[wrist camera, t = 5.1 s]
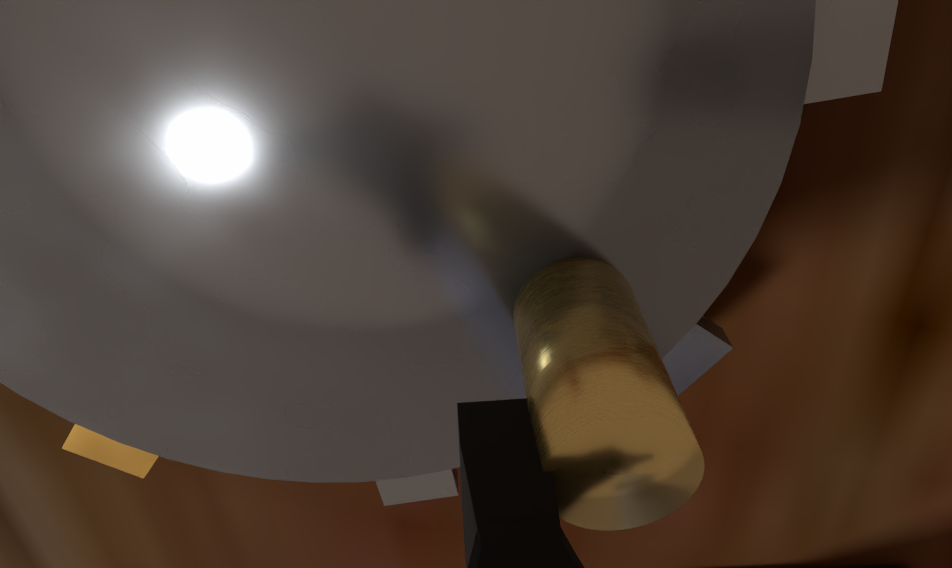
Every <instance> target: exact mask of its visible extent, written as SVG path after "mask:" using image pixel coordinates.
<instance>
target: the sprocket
mask: <svg viewBox="0 0 952 568" xmlns="http://www.w3.org/2000/svg"><path fill="white" fill-rule="evenodd" d="M897 5H898V0H0V383H2V384H3V385H5V386H7V387H8V388H10V389H11V390H13V391H14V392H16V393H17V394H19V395H21V396H23V397H25V398H27V399H28V400H30V401H32V402H34V403H36V404H38V405H40V406H42V407H43V408H45V409H47V410H49V411H51V412H53V413H55V414H57V415H58V416H60V417H62V418H64V419H66V420H68V421H70V422H72V423H75V425H74V427H73V429H72V431H71V432H70V434H69V436H68V438H67V440H66V441H65V443H64V445H63V447H62V449H65V450H67V451H70V452H73V453H76V454H78V455H81V456H84V457H87V458H89V459H92V460H95V461H97V462H100V463H103V464H106V465H108V466H111V467H114V468H116V469H119V470H122V471H125V472H127V473H130V474H133V475H135V476H138V477H141V478H144V477H145V476H146V474H147V473H148V471H149V470H150V468H151V467H152V465H153V464H154V462H155V461H156V459H157V458H158V456H161V457H164V458H167V459H170V460H174V461H178V462H182V463H186V464H190V465H194V466H198V467H202V468H207V469H211V470H215V471H219V472H226V473H232V474H238V475H244V476H251V477H257V478H263V479H273V480H286V481H300V482H313V483H321V482H367V481H376V484H377V487H378V489H379V492H380V495H381V498H382V500H383V503H384V506H386V505H394V504H401V503H408V502H415V501H422V500H429V499H436V498H443V497H450V496H457V495H458V473H457V469H456V468H458V467H460V453H459V433H458V412H457V403H462V402H478V401H493V400H508V399H524V398H526V399H527V404H528V409H529V414H530V418H531V422H532V426H533V431H534V435H535V439H536V443H537V447H538V451H539V456H540V460H541V464H542V469H543V471H554V477H555V486H556V494H557V503H558V511H559V518H561V519H562V520H564V521H566V522H568V523H570V524H573V525H576V526H579V527H583V528H587V529H593V530H623V529H629V528H635V527H639V526H642V525H646V524H649V523H651V522H654V521H656V520H659V519H661V518H663V517H665V516H667V515H669V514H670V513H672V512H674V511H675V510H676V509H678V508H679V507H681V506H682V505H683V504H684V503H685V502H686V501H687V500H688V499H689V498H690V497H691V496H692V495H693V494H694V492H695V491H696V490H697V488H698V486H699V484H700V482H701V480H702V477H703V473H704V458H703V454H702V452H701V449H700V447H699V445H698V442H697V440H696V438H695V435H694V433H693V431H692V428H691V426H690V424H689V421H688V419H687V417H686V414H685V412H684V410H683V407H682V405H681V403H680V400H679V398H678V395H679V394H680V393H681V392H683V391H684V390H685V389H686V388H687V387H688V386H690V385H691V384H692V383H693V382H694V381H695V380H697V379H698V378H699V377H700V376H701V375H702V374H704V373H705V372H706V371H707V370H708V369H709V368H711V367H712V366H713V365H714V364H715V363H716V362H718V361H719V360H720V359H721V358H722V357H723V356H725V355H726V354H727V353H728V352H729V351H730V350H732V349H733V346H732V345H731V343H730V341H729V340H728V338H727V336H726V334H725V333H724V331H723V329H722V328H721V327H720V326H718V325H717V324H715V323H714V322H712V321H711V320H709V319H707V318H706V317H704V316H703V315H704V313H705V312H706V311H707V310H708V308H709V307H710V306H711V304H712V303H713V302H714V301H715V299H716V298H717V297H718V296H719V294H720V293H721V292H722V291H723V289H724V288H725V287H726V285H727V284H728V283H729V281H730V279H731V278H732V276H733V274H734V273H735V271H736V270H737V268H738V266H739V265H740V263H741V261H742V260H743V258H744V257H745V255H746V253H747V252H748V250H749V248H750V247H751V245H752V244H753V242H754V240H755V239H756V237H757V235H758V233H759V230H760V228H761V226H762V224H763V222H764V220H765V218H766V215H767V213H768V211H769V209H770V207H771V205H772V202H773V200H774V198H775V196H776V194H777V192H778V189H779V187H780V185H781V182H782V179H783V176H784V173H785V170H786V167H787V164H788V161H789V157H790V154H791V151H792V148H793V145H794V142H795V139H796V136H797V133H798V129H799V126H800V122H801V116H802V111H803V106H804V104H808V103H814V102H820V101H826V100H832V99H838V98H844V97H850V96H856V95H862V94H868V93H874V92H880V91H881V90H882V85H883V80H884V74H885V69H886V64H887V59H888V53H889V48H890V43H891V37H892V32H893V27H894V21H895V16H896V11H897Z"/></svg>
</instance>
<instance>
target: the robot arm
mask: <svg viewBox="0 0 952 568" xmlns="http://www.w3.org/2000/svg"><path fill="white" fill-rule="evenodd" d="M457 412H458V433H459V453H460V474H461V494H462V510H463V526H464V542H465V558H466V565H467V568H584V567H583V565H582V563H581V562H580V560H579V558H578V557H577V555H576V553H575V552H574V550H573V548H572V546H571V545H570V543H569V541H568V539H567V538H566V536H565V534H564V532H563V530H562V529H561V527H560V519H559V511H558V503H557V494H556V486H555V477H554V471H543V469H542V464H541V460H540V456H539V451H538V447H537V443H536V439H535V435H534V431H533V426H532V422H531V418H530V414H529V409H528V404H527V399H526V398H524V399H508V400H493V401H478V402H462V403H457Z"/></svg>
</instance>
